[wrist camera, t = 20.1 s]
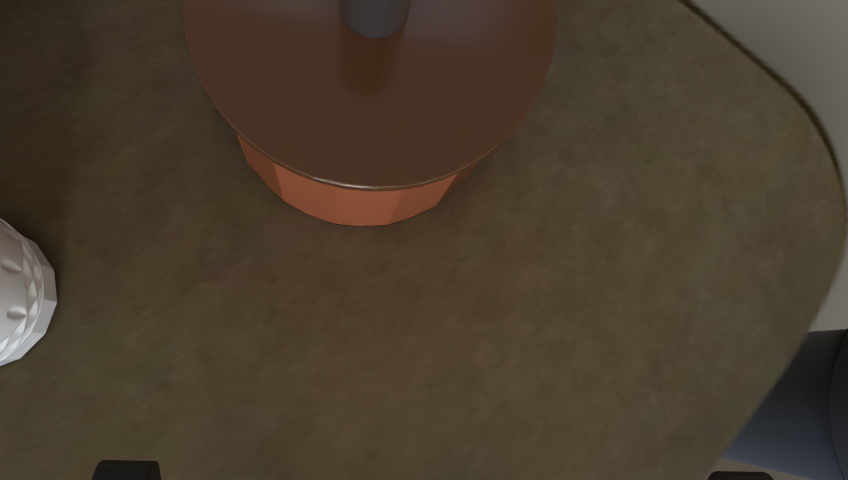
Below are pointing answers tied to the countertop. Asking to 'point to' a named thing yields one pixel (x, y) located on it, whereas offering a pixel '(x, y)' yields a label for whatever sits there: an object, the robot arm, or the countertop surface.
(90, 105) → the countertop surface
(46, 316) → the white cup
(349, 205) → the crock
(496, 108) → the lid
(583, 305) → the countertop surface
